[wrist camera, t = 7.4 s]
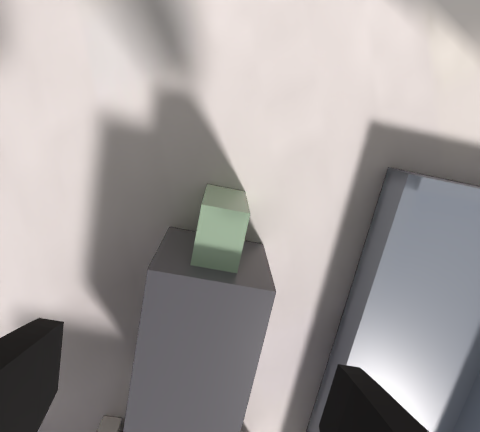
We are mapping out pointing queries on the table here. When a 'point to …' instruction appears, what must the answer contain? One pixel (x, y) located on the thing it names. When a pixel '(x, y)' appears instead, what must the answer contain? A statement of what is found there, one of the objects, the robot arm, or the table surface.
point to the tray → (417, 303)
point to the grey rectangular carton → (201, 323)
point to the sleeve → (110, 424)
